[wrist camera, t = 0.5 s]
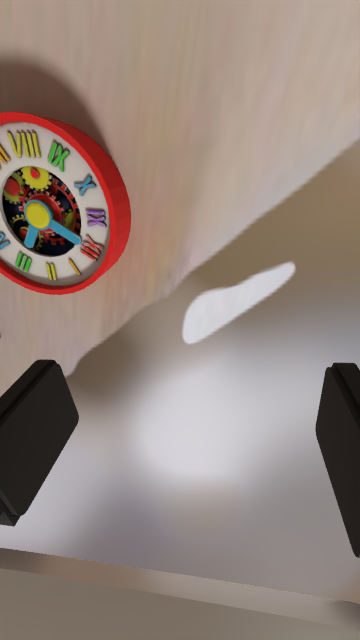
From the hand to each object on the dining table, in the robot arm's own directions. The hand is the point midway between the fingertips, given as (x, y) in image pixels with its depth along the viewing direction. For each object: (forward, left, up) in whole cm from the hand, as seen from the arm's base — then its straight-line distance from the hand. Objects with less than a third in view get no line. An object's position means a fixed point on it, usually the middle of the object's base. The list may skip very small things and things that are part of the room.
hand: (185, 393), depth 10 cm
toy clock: (+12, -18, -31) cm, 37 cm away
